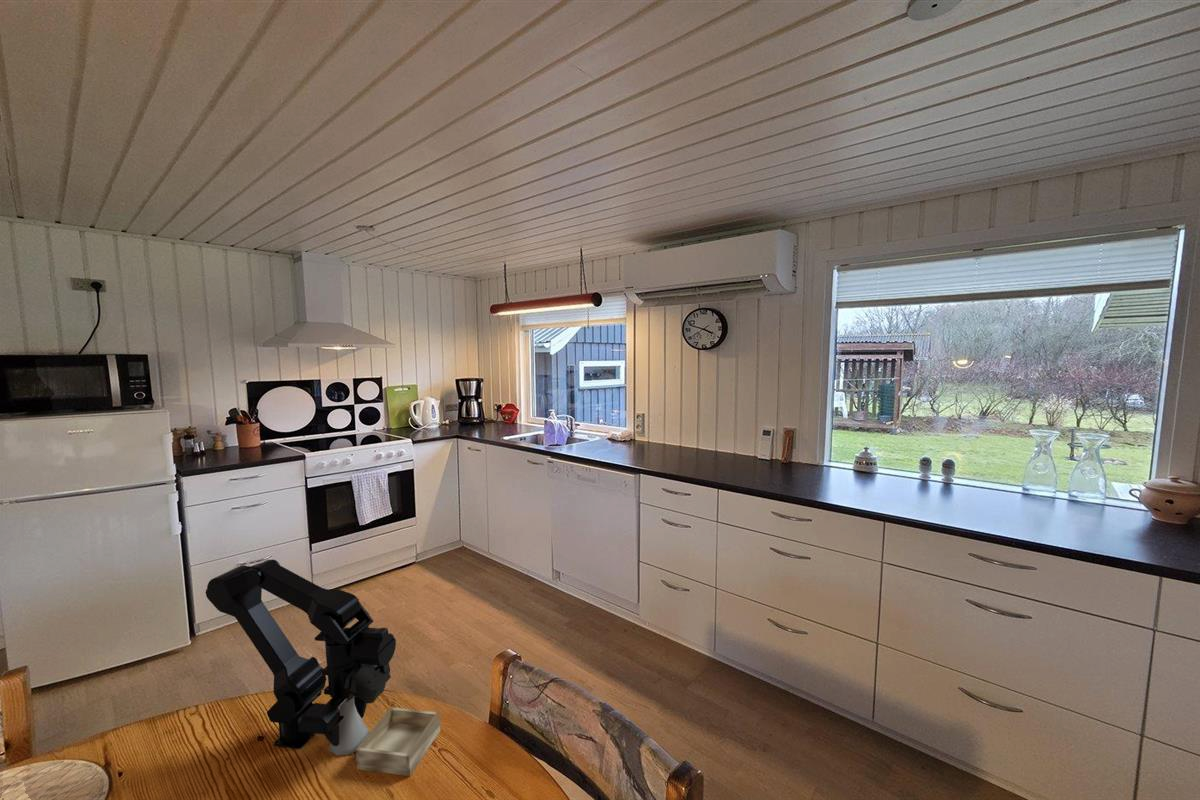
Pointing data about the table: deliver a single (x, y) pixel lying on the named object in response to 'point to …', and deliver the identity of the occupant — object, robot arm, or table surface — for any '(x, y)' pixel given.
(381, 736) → the crate
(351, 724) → the flask
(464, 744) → the table surface
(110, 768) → the table surface
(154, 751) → the table surface
